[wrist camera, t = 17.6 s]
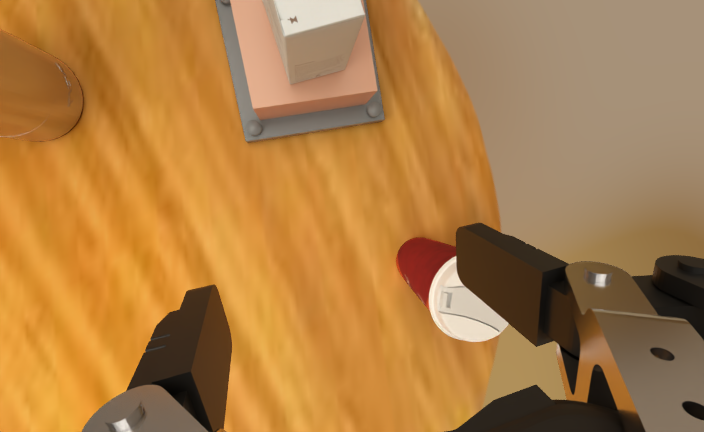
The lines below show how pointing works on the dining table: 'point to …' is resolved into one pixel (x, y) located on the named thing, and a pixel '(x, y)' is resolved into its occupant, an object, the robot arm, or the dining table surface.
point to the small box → (314, 34)
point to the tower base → (292, 121)
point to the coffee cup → (446, 291)
